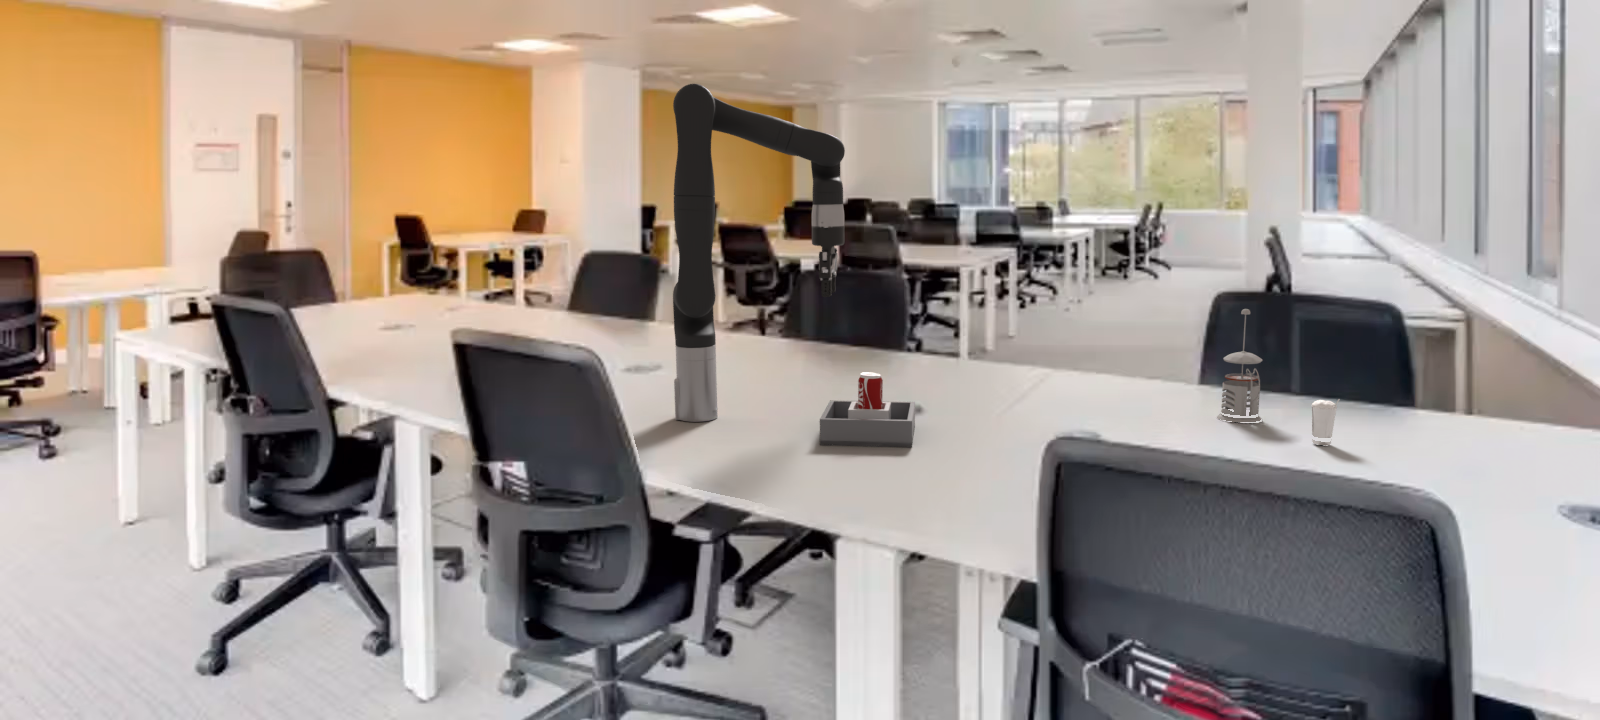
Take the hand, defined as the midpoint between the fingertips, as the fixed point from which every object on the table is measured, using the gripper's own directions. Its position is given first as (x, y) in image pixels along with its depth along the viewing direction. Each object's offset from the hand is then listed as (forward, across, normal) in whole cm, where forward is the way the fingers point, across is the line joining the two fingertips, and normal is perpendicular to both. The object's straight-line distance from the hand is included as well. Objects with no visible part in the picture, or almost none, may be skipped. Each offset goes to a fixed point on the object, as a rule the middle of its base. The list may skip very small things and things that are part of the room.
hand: (828, 294), depth 238 cm
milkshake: (+28, +21, +103) cm, 109 cm away
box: (+28, +21, +11) cm, 37 cm away
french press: (+28, -1, +93) cm, 97 cm away
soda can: (+27, +19, +11) cm, 35 cm away
